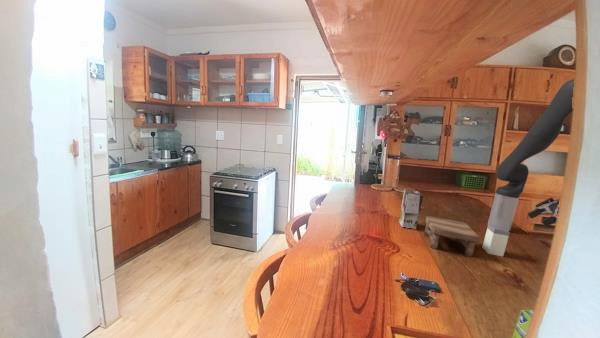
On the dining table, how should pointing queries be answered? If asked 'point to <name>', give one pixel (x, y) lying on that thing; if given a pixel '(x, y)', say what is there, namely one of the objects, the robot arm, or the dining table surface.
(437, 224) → the footstool
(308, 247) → the dining table surface
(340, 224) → the dining table surface
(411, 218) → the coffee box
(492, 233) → the cream faceted block
